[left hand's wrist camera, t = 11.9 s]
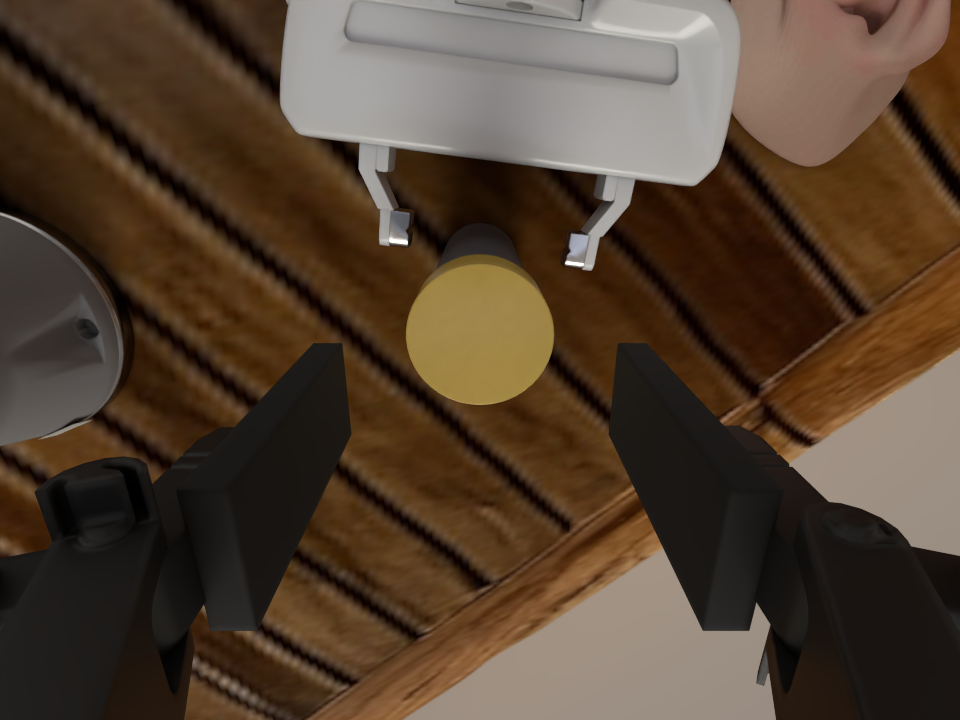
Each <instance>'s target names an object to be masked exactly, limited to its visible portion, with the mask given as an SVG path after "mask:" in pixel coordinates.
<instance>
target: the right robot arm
mask: <svg viewBox="0 0 960 720" xmlns="http://www.w3.org/2000/svg"><path fill="white" fill-rule="evenodd" d="M285 2H286V4H287V6H288V10H287V17H286V24H285V32H284V41H283V50H282V63H281V80H280V105H281V109H282V112H283V114H284V115H285V117H286V118H287V120H288V121H289V123H290V124H291V126H292V127H293V128H294V130H295V131H296V132H297V133H298V134H300V135H304V136H308V137H315V138H323V139H330V140H338V141H346V142H353V143H360V147H359V171H360V173H361V175H362V177H363V179H364V181H365V183H366V185H367V187H368V189H369V191H370V193H371V195H372V197H373V199H374V202H375V204H376V206H377V208H379V209H380V228H379V243H380V245H386V246H396V247H405V248H409V246H411V243H412V234H413V231H412V230H411V228H410V226H411V225H412V224H413V221H414V210H409V209H402V208H399V206H398V204H397V202H396V199H395V197H394V195H393V193H392V190H391V188H390V186H389V184H388V181H387V179H386V177H385V175H384V172H393V171H394V170H395V159H396V148H399V149H407V150H415V151H422V152H430V153H438V154H445V155H453V156H460V157H468V158H476V159H483V160H491V161H499V162H506V163H514V164H521V165H529V166H537V167H544V168H552V169H560V170H567V171H575V172H582V173H590V174H597V179H596V185H595V191H594V197H595V198H597V199H601V200H604V201H603V202H602V203H601V205H600V206H599V207H598V208H597V210H596V211H595V212H594V214H593V215H592V216H591V217H590V219H589V220H588V221H587V223H586V224H585V225H584V226H583V228H582V229H581V231H576V230H565V236H564V241H563V242H564V244H565V246H566V247H565V248H564V249H563V250H562V253H561V265H563V267H567V268H574V269H581V270H589V271H591V270H592V269H593V266H594V263H595V258H596V253H597V248H598V243H599V238H600V237H602V236H603V235H604V234H605V233H606V232H607V231H608V229H609V228H610V227H611V226H612V225H613V223H614V222H615V221H616V220H617V219H618V218H619V216H620V215H621V214H622V213H623V212H624V210H625V209H626V208H627V207H628V206H629V205H630V201H631V196H632V192H633V187H634V182H635V180H643V181H651V182H658V183H666V184H674V185H681V186H694V185H696V184H698V183H699V182H700V181H701V180H703V179H704V178H705V177H706V176H707V175H708V174H709V173H710V172H711V171H712V170H713V169H714V168H715V167H716V165H717V163H718V161H719V159H720V156H721V153H722V149H723V146H724V142H725V138H726V134H727V130H728V125H729V121H730V116H731V111H732V106H733V101H734V96H735V90H736V84H737V77H738V70H739V63H740V55H741V29H740V23H739V19H738V16H737V14H736V12H735V10H734V8H733V6H732V5H731V4H730V2H729V1H728V0H285Z"/></svg>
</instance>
